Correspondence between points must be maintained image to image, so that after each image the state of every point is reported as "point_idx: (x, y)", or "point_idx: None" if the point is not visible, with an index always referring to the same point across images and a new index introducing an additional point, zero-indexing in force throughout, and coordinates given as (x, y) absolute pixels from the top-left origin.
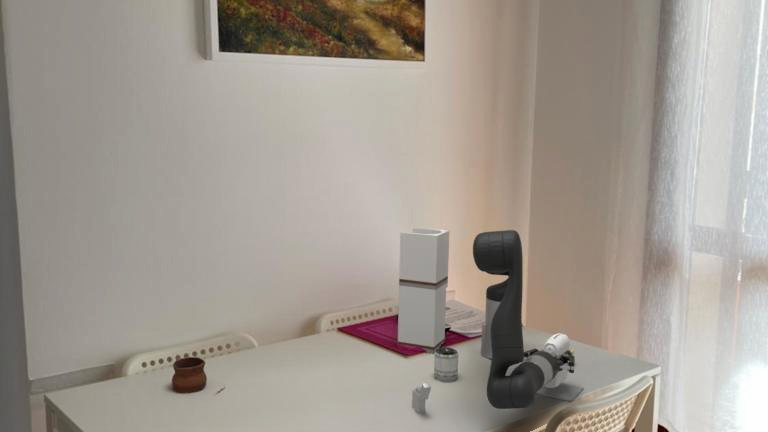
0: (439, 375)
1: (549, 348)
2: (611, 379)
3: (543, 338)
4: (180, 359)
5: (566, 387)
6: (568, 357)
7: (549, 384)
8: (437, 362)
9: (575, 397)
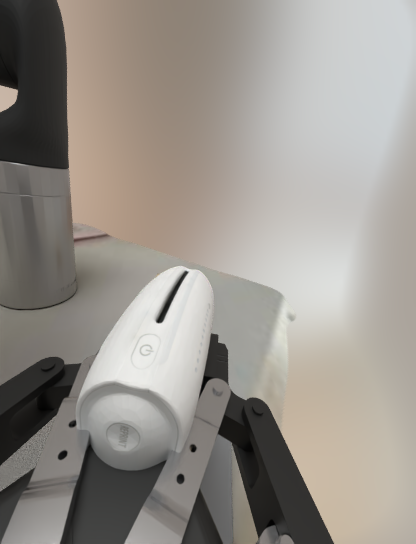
0: None
1: (120, 423)
2: (257, 338)
3: (136, 251)
4: None
5: None
6: (233, 406)
7: None
8: None
9: (230, 506)
